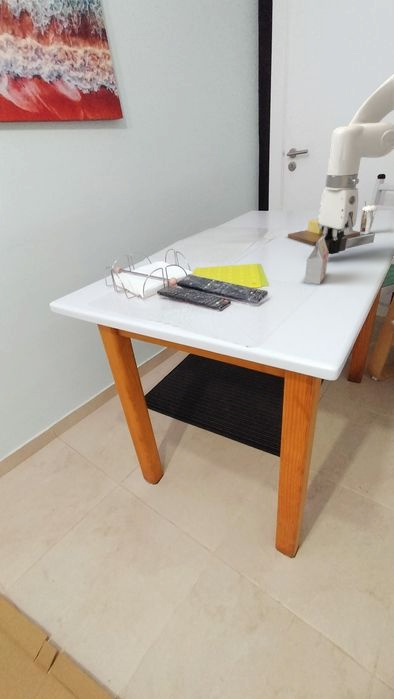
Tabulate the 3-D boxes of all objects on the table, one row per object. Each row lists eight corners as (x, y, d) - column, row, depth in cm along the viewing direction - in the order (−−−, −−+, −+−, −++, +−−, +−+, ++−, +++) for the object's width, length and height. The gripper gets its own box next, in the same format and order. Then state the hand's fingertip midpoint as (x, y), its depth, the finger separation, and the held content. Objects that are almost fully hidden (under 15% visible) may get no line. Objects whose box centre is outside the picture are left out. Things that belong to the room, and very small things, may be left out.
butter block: (316, 229, 124) (317, 219, 122) (327, 232, 119) (329, 221, 117) (307, 230, 123) (308, 220, 121) (318, 234, 118) (320, 223, 116)
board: (331, 228, 128) (331, 225, 127) (359, 235, 117) (360, 232, 116) (287, 237, 122) (287, 233, 121) (313, 245, 111) (314, 242, 110)
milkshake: (365, 230, 122) (371, 200, 117) (374, 233, 118) (380, 203, 112) (353, 231, 122) (359, 202, 116) (362, 235, 117) (368, 204, 112)
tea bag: (304, 282, 85) (308, 242, 80) (311, 273, 90) (315, 235, 85) (319, 284, 83) (325, 243, 78) (325, 275, 88) (331, 236, 83)
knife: (320, 256, 96) (322, 243, 94) (315, 254, 97) (317, 241, 95) (375, 243, 102) (378, 230, 100) (370, 241, 104) (372, 229, 102)
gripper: (376, 182, 83) (362, 256, 93) (330, 178, 95) (321, 244, 105) (353, 186, 81) (341, 261, 90) (309, 181, 93) (302, 248, 103)
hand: (330, 251), depth 98 cm, fingers closed on knife, 2 cm apart
